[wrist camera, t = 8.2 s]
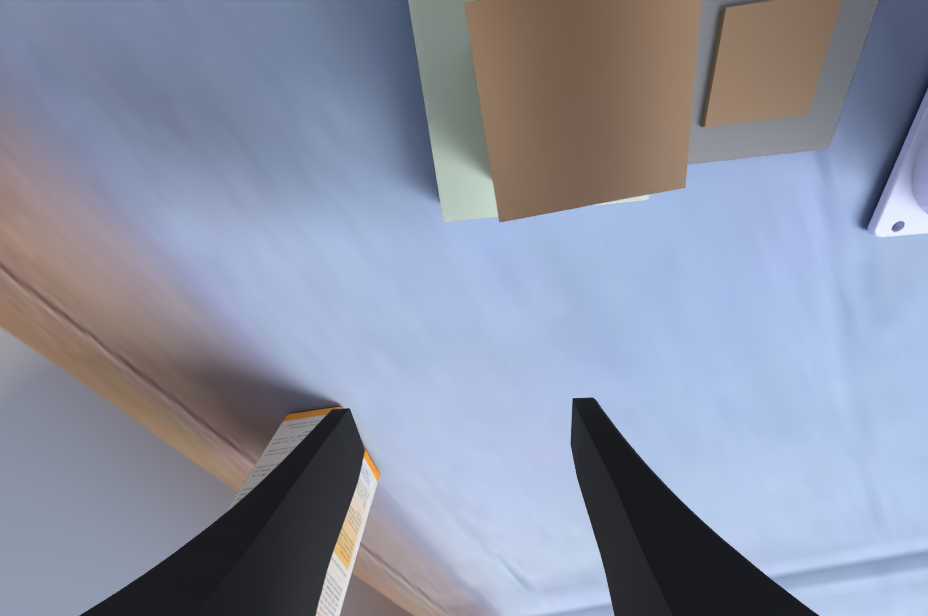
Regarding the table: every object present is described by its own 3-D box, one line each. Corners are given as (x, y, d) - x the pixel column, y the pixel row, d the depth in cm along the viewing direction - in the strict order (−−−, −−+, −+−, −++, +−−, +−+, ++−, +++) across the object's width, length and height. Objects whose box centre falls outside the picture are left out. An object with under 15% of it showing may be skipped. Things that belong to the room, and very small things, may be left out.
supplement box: (284, 412, 27) (135, 637, 16) (343, 403, 26) (231, 634, 15) (330, 481, 31) (237, 702, 19) (382, 475, 30) (317, 702, 19)
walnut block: (614, 5, 12) (706, -65, 7) (615, 157, 15) (685, 187, 10) (472, 42, 13) (464, 3, 8) (495, 182, 16) (499, 222, 10)
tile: (881, -64, 13) (913, -78, 12) (814, 146, 16) (834, 149, 15) (676, -30, 14) (690, -39, 13) (652, 165, 17) (662, 168, 16)
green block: (646, -57, 14) (682, -94, 11) (625, 185, 18) (648, 199, 16) (417, -13, 15) (402, -37, 12) (449, 206, 19) (443, 222, 17)
